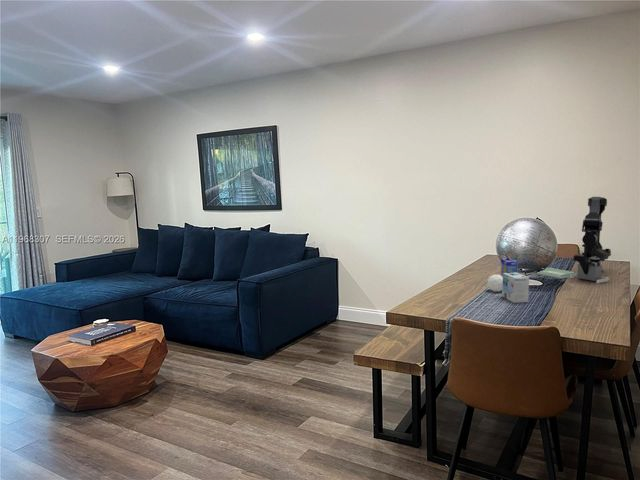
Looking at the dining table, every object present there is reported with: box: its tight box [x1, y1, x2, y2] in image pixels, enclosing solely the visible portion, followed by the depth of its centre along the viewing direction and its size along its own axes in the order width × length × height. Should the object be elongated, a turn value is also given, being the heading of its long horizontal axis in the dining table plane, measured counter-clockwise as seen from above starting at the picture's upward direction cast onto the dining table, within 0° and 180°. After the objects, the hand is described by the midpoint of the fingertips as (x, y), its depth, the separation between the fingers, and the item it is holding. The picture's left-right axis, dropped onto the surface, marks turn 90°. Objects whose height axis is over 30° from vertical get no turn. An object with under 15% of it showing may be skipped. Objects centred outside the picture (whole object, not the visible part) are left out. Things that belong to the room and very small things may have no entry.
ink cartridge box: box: [500, 254, 519, 277], centre depth 225 cm, size 10×6×14 cm, turn 174°
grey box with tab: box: [576, 262, 603, 282], centre depth 231 cm, size 5×9×9 cm, turn 28°
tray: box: [534, 267, 576, 280], centre depth 244 cm, size 11×15×2 cm
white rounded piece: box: [487, 274, 503, 293], centre depth 212 cm, size 8×8×12 cm
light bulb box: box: [501, 272, 530, 304], centre depth 199 cm, size 11×7×11 cm, turn 5°
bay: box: [569, 273, 610, 284], centre depth 232 cm, size 10×14×2 cm
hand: (589, 273), depth 231 cm, fingers closed on grey box with tab, 5 cm apart
